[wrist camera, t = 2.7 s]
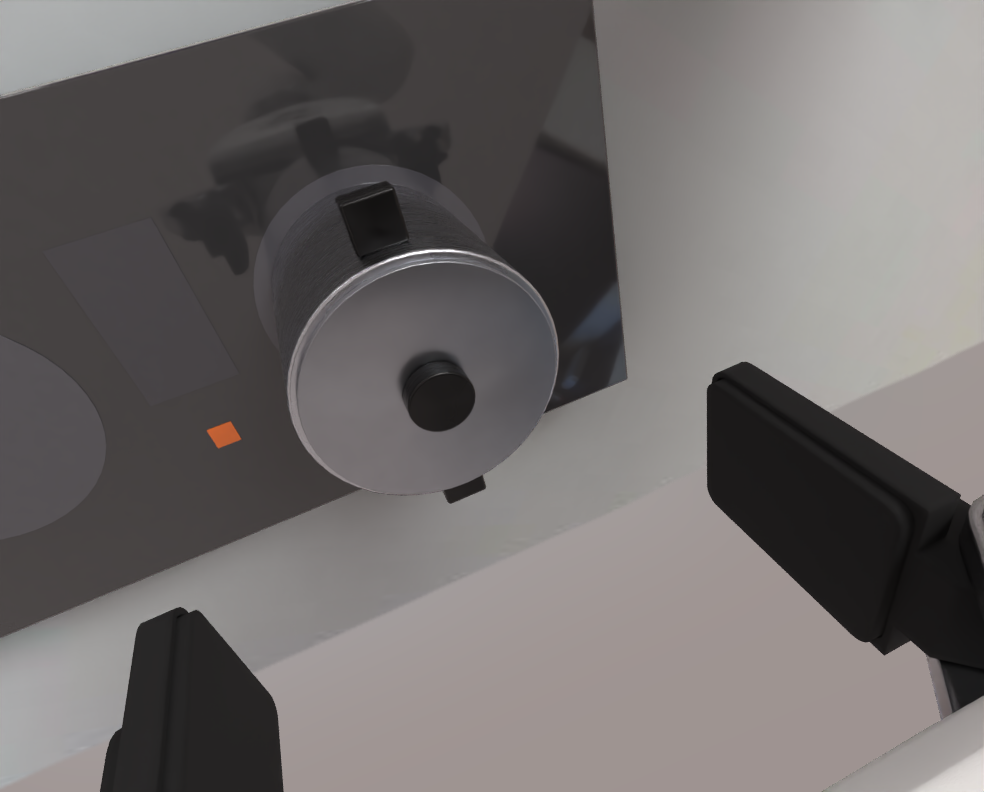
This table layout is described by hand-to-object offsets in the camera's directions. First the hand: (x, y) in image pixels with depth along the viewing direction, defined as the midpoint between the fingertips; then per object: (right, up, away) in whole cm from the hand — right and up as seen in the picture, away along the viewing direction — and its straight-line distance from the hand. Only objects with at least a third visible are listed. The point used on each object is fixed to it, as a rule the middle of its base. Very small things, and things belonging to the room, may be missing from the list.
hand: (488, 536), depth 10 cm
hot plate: (-10, +5, +10) cm, 15 cm away
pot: (-3, +6, +9) cm, 11 cm away
